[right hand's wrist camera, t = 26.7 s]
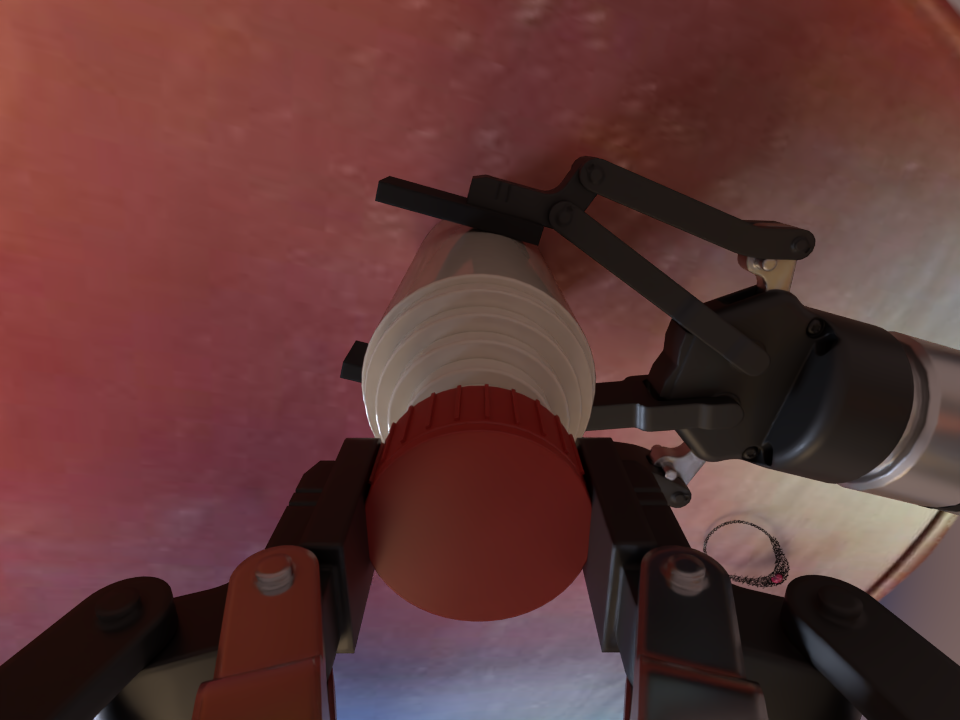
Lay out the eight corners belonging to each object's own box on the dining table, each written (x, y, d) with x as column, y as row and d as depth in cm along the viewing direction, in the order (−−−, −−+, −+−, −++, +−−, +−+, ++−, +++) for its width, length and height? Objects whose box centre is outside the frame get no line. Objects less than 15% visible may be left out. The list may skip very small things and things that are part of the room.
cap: (489, 587, 14) (491, 658, 12) (336, 485, 13) (311, 545, 11) (623, 464, 12) (648, 522, 10) (465, 339, 11) (462, 379, 9)
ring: (756, 594, 39) (763, 605, 38) (689, 551, 37) (694, 561, 36) (802, 554, 37) (810, 565, 36) (734, 508, 36) (741, 518, 35)
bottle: (558, 309, 31) (688, 588, 12) (443, 351, 32) (390, 673, 13) (517, 188, 29) (595, 292, 10) (394, 236, 30) (238, 421, 11)
